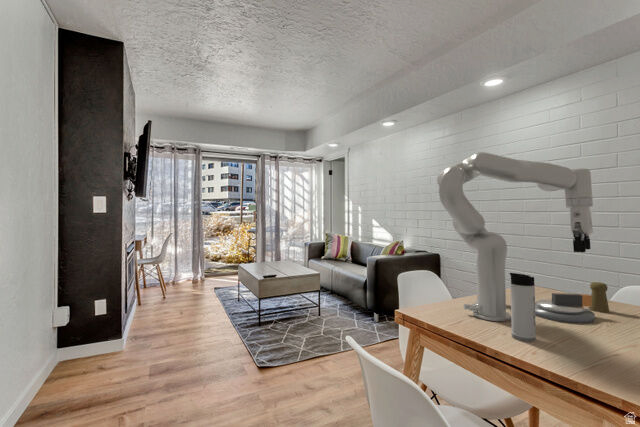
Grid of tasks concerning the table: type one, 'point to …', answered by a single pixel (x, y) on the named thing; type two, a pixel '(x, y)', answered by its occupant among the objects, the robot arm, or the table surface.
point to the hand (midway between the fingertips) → (582, 250)
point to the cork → (599, 297)
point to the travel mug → (523, 307)
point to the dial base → (566, 316)
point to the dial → (566, 303)
